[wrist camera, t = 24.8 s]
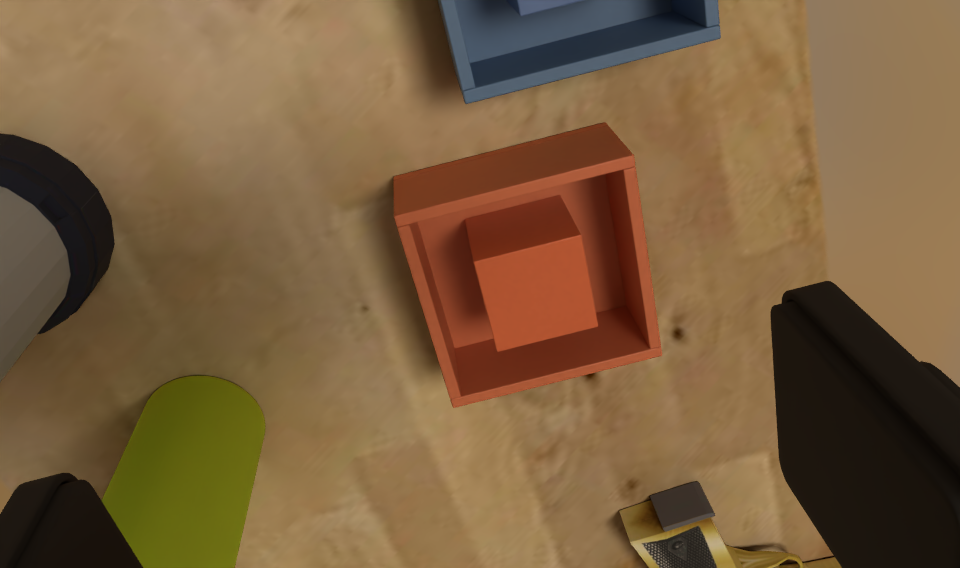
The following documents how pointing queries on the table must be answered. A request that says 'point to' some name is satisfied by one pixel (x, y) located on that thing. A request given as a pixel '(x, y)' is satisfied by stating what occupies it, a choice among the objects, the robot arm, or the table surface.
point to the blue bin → (564, 39)
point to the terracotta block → (531, 272)
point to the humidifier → (45, 242)
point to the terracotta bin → (607, 244)
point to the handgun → (693, 535)
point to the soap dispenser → (188, 474)
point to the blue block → (537, 5)
